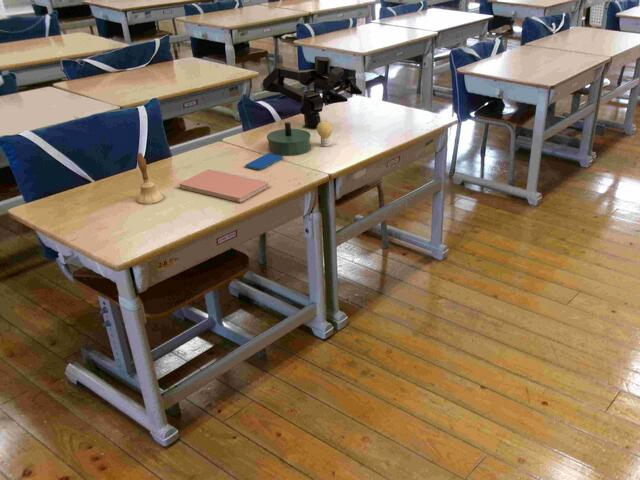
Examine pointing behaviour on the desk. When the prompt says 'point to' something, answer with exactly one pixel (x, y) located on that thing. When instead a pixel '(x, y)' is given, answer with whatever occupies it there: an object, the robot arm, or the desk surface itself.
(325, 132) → the light bulb
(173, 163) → the desk surface
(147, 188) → the hand bell
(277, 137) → the tin lid
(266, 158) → the smartphone
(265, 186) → the notebook
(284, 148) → the tin
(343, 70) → the robot arm
